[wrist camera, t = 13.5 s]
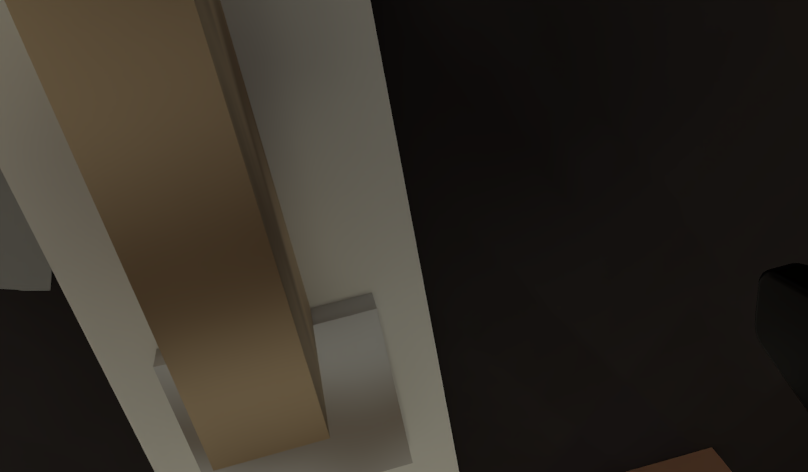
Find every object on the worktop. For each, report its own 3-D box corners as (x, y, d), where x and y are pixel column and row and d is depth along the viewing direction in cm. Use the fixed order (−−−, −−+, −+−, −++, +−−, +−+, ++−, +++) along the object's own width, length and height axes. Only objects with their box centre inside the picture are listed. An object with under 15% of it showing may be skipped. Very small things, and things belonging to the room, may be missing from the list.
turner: (-18, -42, 13) (-143, -3, 9) (279, -102, 14) (295, -91, 10) (222, 496, 21) (217, 654, 17) (407, 444, 22) (447, 583, 18)
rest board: (310, -286, 14) (314, -299, 13) (455, 470, 24) (463, 492, 24) (-163, -204, 13) (-193, -210, 12) (205, 543, 24) (204, 568, 23)
